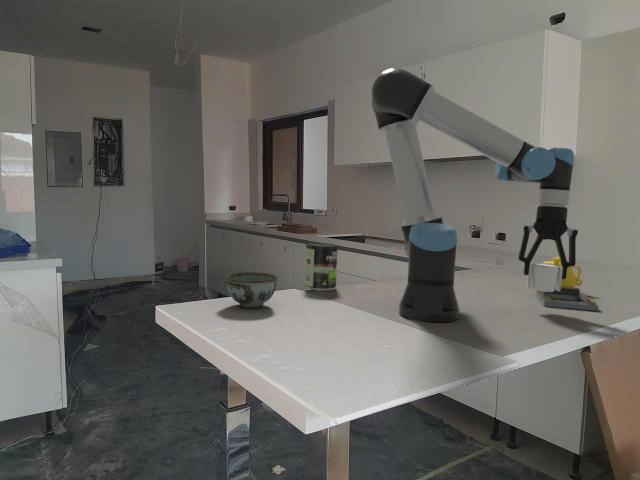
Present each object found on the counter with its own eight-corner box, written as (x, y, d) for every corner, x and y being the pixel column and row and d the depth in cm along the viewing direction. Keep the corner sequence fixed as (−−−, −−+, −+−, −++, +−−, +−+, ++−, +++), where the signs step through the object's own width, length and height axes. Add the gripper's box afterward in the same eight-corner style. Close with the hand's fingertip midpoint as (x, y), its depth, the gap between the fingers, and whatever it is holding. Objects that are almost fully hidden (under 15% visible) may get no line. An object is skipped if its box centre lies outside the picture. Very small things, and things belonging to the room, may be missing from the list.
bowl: (256, 298, 137) (257, 270, 136) (287, 307, 127) (288, 277, 127) (214, 304, 127) (215, 275, 127) (245, 315, 118) (245, 282, 117)
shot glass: (560, 290, 134) (562, 265, 133) (551, 293, 129) (554, 267, 128) (534, 286, 139) (537, 262, 138) (525, 288, 134) (528, 263, 133)
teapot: (581, 299, 154) (584, 263, 153) (531, 293, 161) (533, 259, 160) (581, 289, 171) (584, 257, 170) (535, 284, 178) (538, 253, 177)
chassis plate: (598, 311, 137) (599, 299, 136) (544, 306, 141) (545, 294, 140) (583, 299, 154) (584, 288, 153) (535, 294, 158) (536, 284, 158)
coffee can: (342, 287, 158) (343, 244, 157) (325, 292, 149) (327, 247, 148) (315, 283, 163) (317, 242, 162) (298, 288, 155) (299, 244, 153)
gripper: (589, 208, 132) (579, 290, 135) (512, 203, 138) (504, 282, 140) (596, 208, 125) (585, 295, 127) (515, 203, 131) (505, 286, 133)
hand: (542, 288), depth 134 cm, fingers closed on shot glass, 7 cm apart
